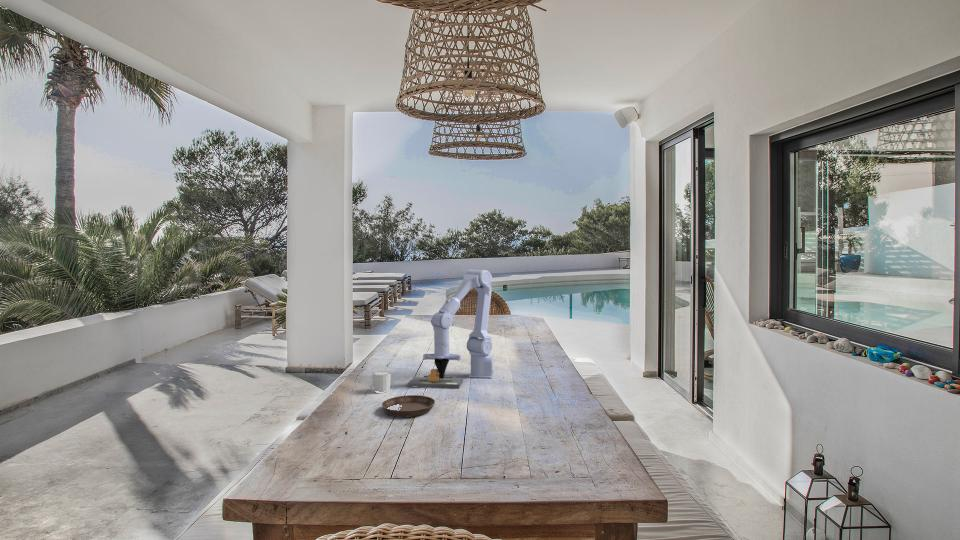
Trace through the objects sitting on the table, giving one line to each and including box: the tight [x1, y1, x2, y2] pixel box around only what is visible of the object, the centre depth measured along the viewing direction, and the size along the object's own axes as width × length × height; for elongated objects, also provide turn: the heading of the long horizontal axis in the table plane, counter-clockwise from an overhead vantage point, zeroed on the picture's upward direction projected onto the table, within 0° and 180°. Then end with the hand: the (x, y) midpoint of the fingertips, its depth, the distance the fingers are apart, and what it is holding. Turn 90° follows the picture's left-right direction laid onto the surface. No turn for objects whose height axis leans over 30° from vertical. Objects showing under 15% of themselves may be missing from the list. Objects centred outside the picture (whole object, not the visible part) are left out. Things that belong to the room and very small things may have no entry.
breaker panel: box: [407, 376, 464, 390], centre depth 230 cm, size 20×10×2 cm, turn 82°
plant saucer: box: [381, 394, 436, 418], centre depth 196 cm, size 18×18×3 cm
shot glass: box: [372, 370, 392, 392], centre depth 220 cm, size 7×7×7 cm
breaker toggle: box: [427, 368, 440, 382], centre depth 230 cm, size 4×5×4 cm
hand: (442, 378), depth 229 cm, fingers closed
